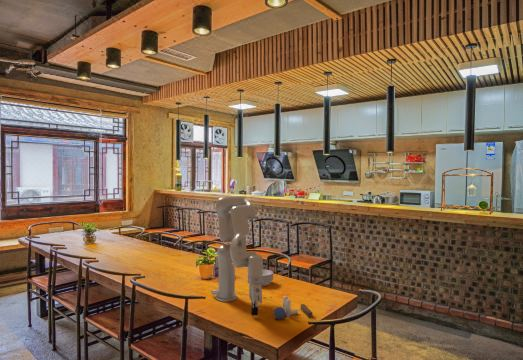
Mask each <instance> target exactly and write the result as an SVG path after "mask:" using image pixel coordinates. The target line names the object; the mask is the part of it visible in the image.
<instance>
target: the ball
mask: <svg viewBox="0 0 523 360" xmlns="http://www.w3.org/2000/svg"><path fill="white" fill-rule="evenodd" d="M273 317H274V318H275V319H277V320H283V319H284V317H286V315H285V310H284V309H283V306H278V307H277V306H276V307H275V308H274V309H273Z"/></svg>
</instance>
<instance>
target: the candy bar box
mask: <svg viewBox="0 0 523 360" xmlns="http://www.w3.org/2000/svg"><path fill="white" fill-rule="evenodd" d="M214 252H215V254H217V251H214ZM212 277H215V278H216V277H219V262H218V256H217V257H215V264H214V266H213V276H212Z"/></svg>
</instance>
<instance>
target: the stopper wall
mask: <svg viewBox="0 0 523 360" xmlns="http://www.w3.org/2000/svg"><path fill="white" fill-rule="evenodd" d="M300 310H301V311H302V312H303V313H304V314H305V315H306V316H307V318H308V319H309V318H313V312H312V310H311V309H309V307H308V306H307V305H305V303H300Z"/></svg>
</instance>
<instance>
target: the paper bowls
mask: <svg viewBox="0 0 523 360" xmlns="http://www.w3.org/2000/svg"><path fill="white" fill-rule="evenodd" d="M262 276H263V278H262V283H261V287H265V286H268V285H270V284H271V282H272V281H274V271H272V270H271V269H269V270H268V269H263V275H262Z"/></svg>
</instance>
